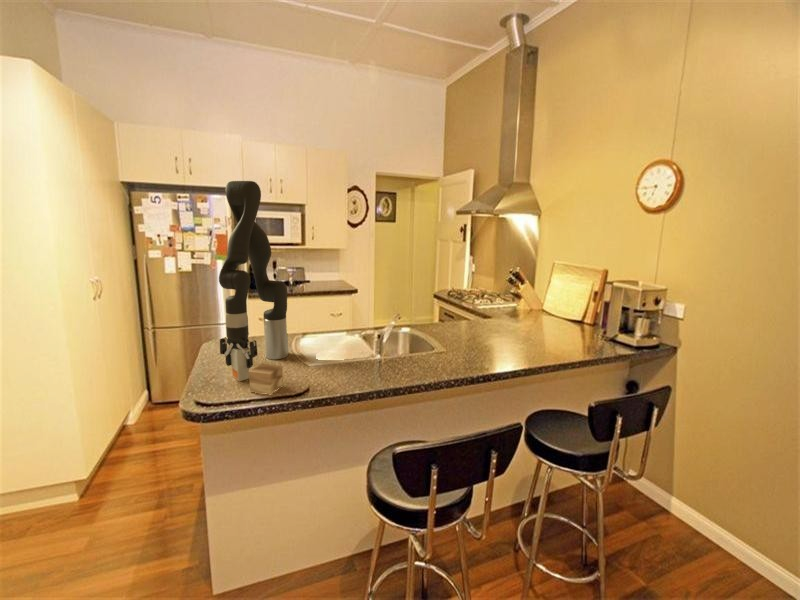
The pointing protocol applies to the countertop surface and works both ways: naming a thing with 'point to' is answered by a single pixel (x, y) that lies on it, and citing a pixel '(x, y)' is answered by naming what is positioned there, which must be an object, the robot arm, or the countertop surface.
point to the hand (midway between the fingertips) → (239, 366)
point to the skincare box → (239, 365)
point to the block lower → (266, 387)
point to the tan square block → (265, 374)
